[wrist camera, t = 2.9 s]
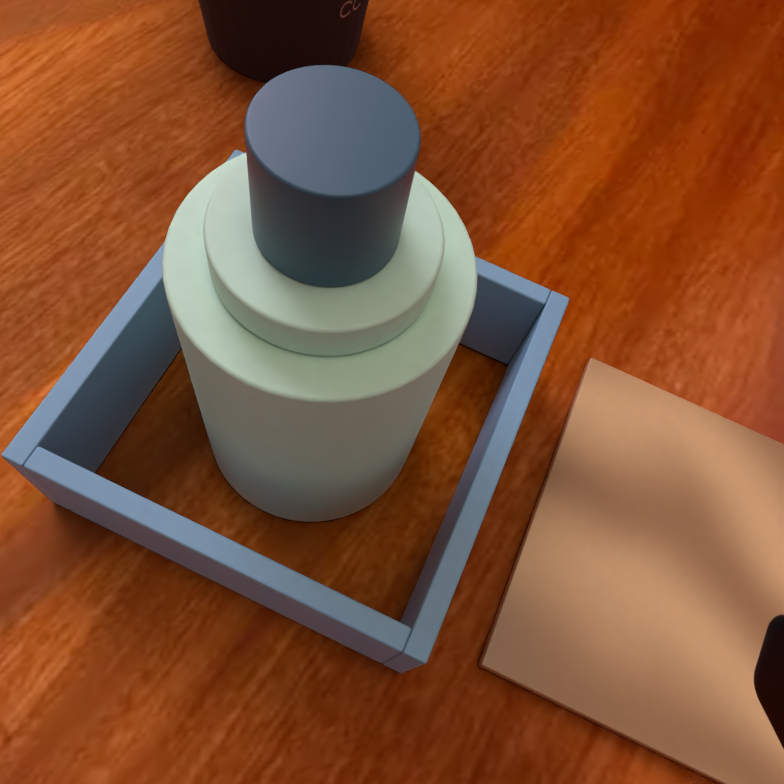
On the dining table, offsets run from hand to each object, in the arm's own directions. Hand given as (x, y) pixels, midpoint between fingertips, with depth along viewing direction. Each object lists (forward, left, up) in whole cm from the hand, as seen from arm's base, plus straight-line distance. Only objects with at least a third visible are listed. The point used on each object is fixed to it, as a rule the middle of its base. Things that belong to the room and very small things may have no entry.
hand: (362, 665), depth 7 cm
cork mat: (+8, -9, -13) cm, 18 cm away
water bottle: (+7, +4, -13) cm, 15 cm away
